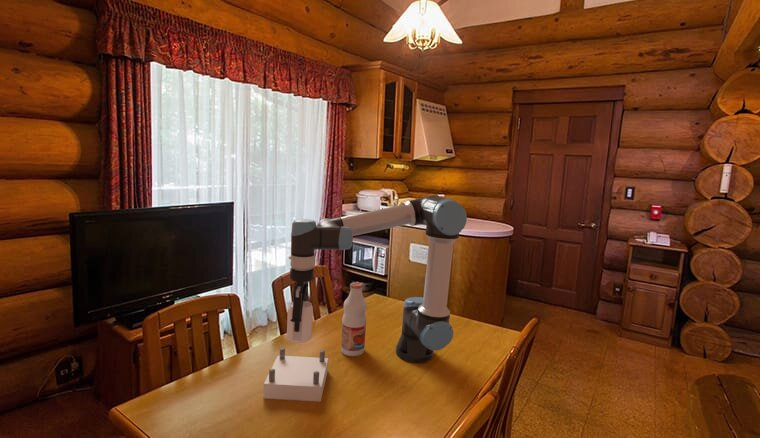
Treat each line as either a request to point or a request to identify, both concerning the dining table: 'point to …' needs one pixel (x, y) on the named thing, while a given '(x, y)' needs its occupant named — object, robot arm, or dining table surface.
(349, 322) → the fruit juice
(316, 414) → the dining table surface
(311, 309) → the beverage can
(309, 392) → the peg stand
